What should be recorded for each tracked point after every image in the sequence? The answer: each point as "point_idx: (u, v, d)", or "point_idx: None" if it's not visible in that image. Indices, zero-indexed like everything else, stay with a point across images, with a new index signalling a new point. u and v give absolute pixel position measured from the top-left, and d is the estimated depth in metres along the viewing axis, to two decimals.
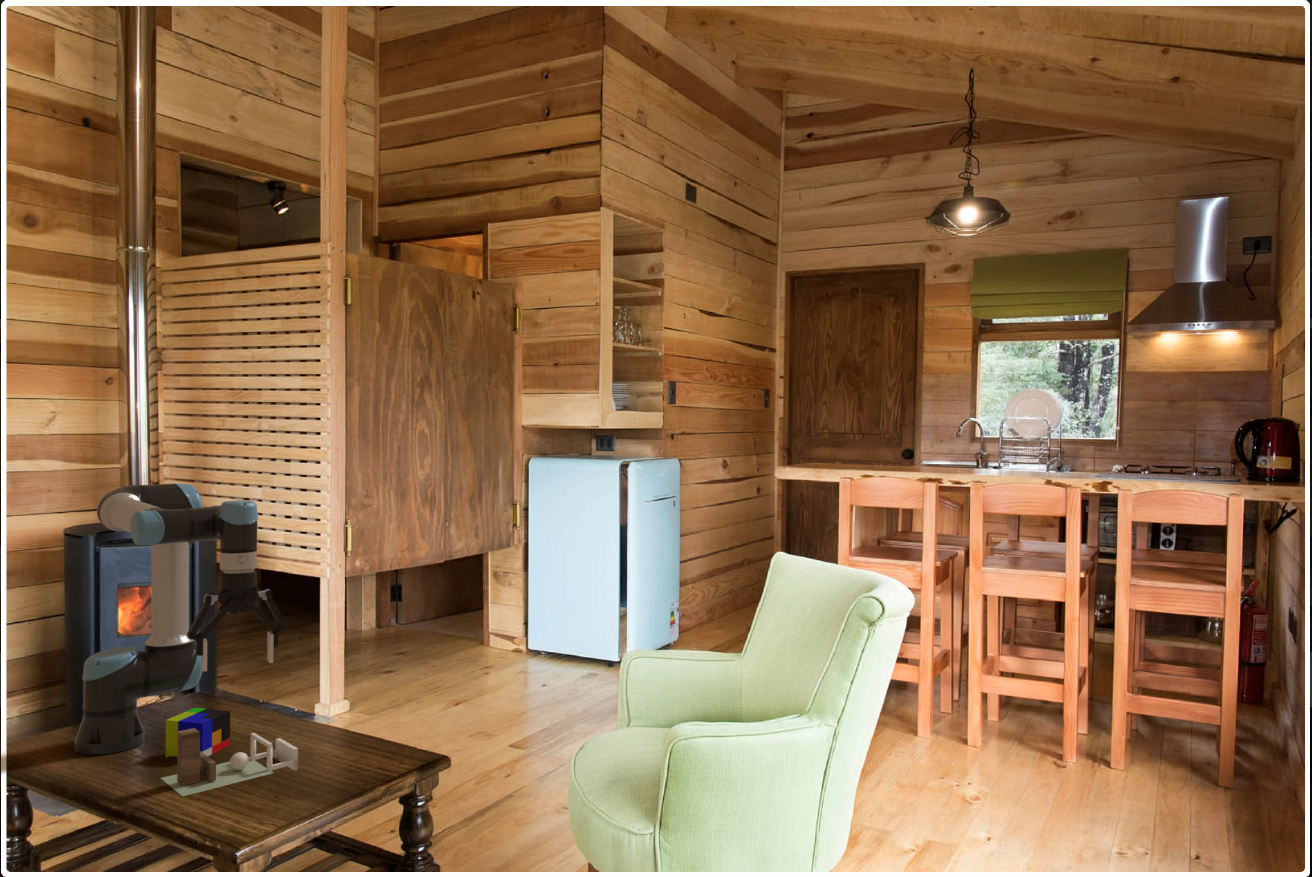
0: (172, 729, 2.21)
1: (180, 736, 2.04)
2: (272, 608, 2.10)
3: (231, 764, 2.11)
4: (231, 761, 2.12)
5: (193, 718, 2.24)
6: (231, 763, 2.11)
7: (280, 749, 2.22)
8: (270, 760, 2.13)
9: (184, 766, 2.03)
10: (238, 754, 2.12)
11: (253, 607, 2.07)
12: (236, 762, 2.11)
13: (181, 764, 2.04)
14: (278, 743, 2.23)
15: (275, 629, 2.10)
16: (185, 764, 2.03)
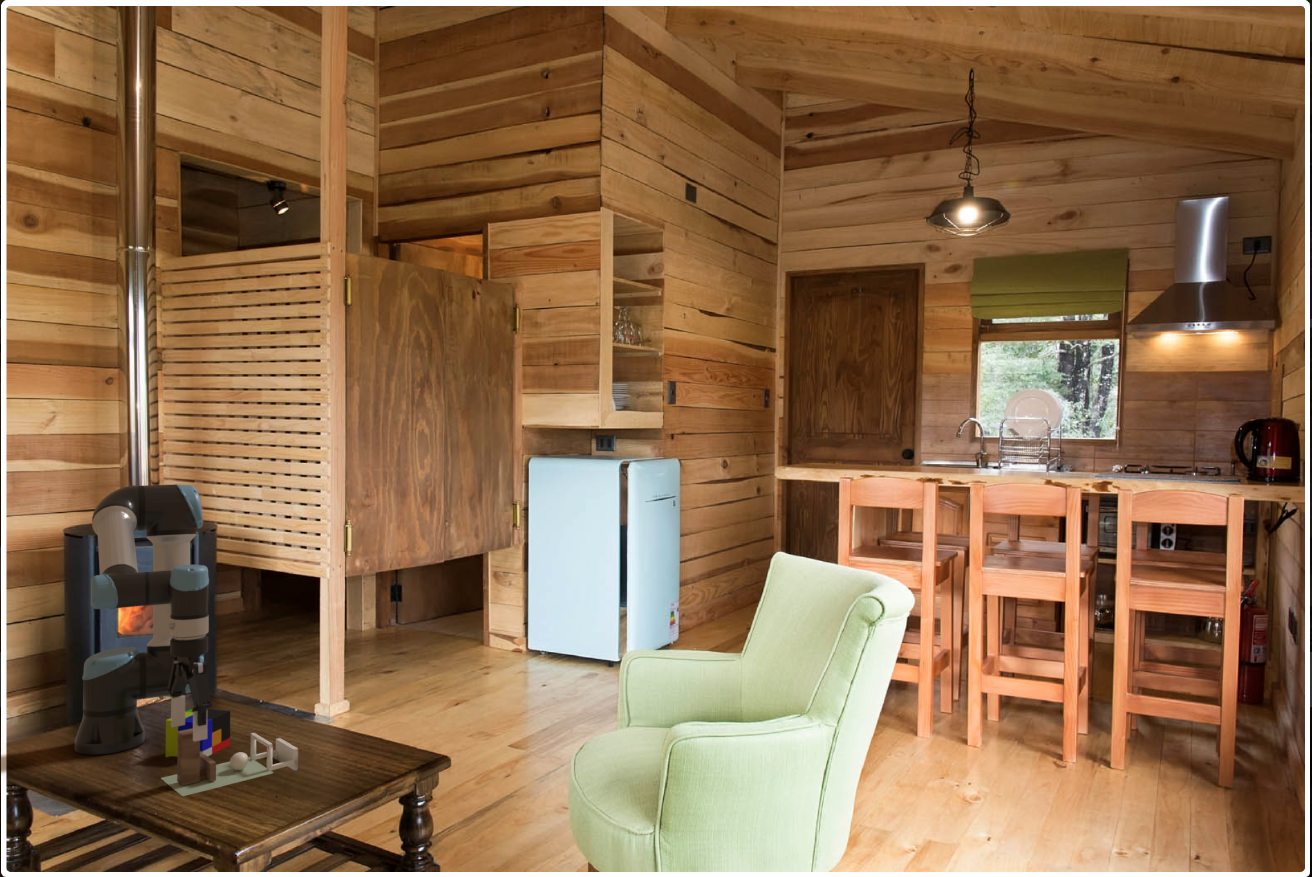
0: (172, 729, 2.21)
1: (180, 736, 2.04)
2: (194, 683, 1.99)
3: (231, 764, 2.11)
4: (231, 761, 2.12)
5: None
6: (231, 763, 2.11)
7: (280, 749, 2.22)
8: (270, 760, 2.13)
9: (184, 766, 2.03)
10: (238, 754, 2.12)
11: (185, 677, 2.02)
12: (236, 762, 2.11)
13: (181, 764, 2.04)
14: (278, 743, 2.23)
15: (195, 707, 1.99)
16: (185, 764, 2.03)
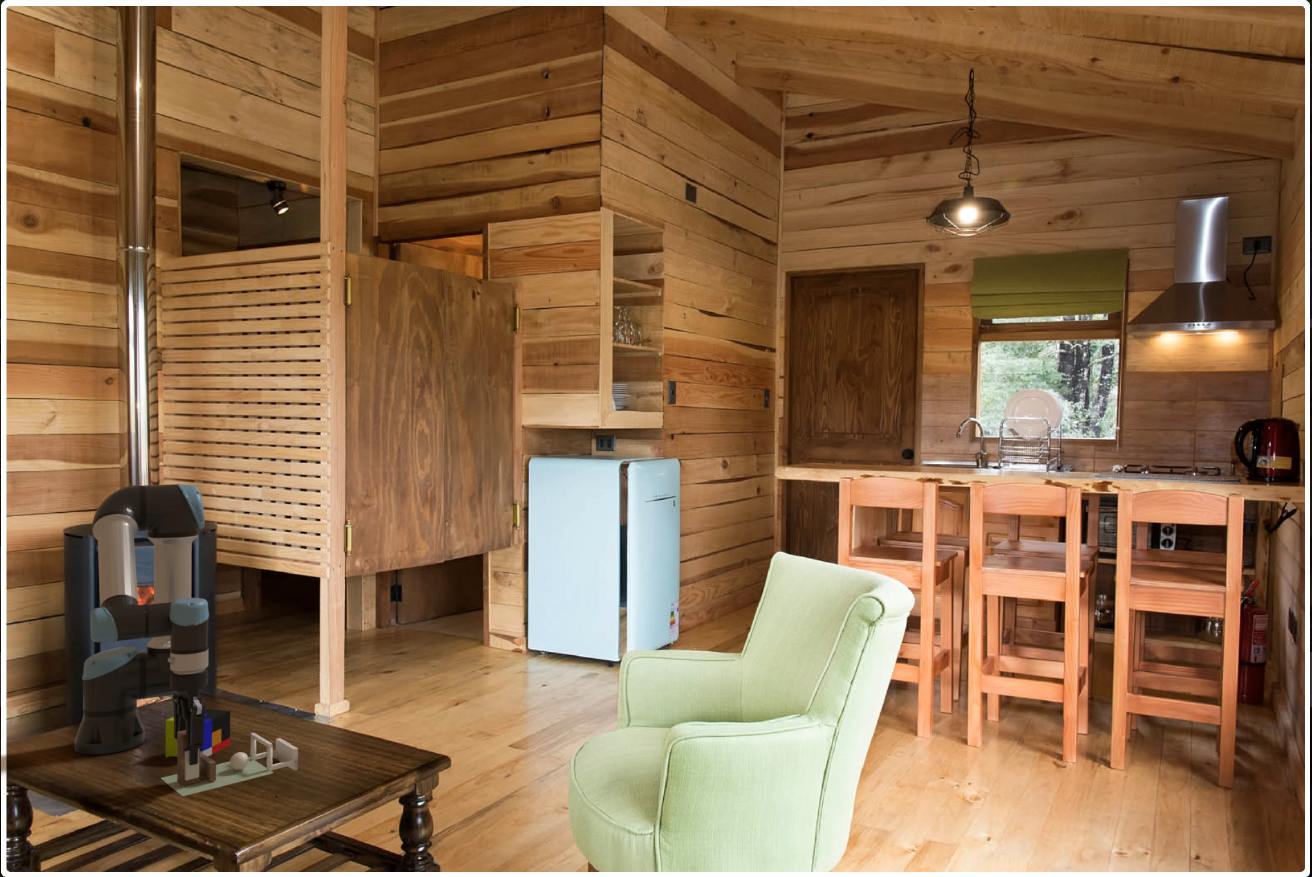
0: (172, 729, 2.21)
1: (180, 736, 2.04)
2: (191, 723, 2.01)
3: (231, 764, 2.11)
4: (231, 761, 2.12)
5: None
6: (231, 763, 2.11)
7: (280, 749, 2.22)
8: (270, 760, 2.13)
9: (184, 766, 2.03)
10: (238, 754, 2.12)
11: (183, 713, 2.03)
12: (236, 762, 2.11)
13: (181, 764, 2.04)
14: (278, 743, 2.23)
15: (187, 746, 2.02)
16: None
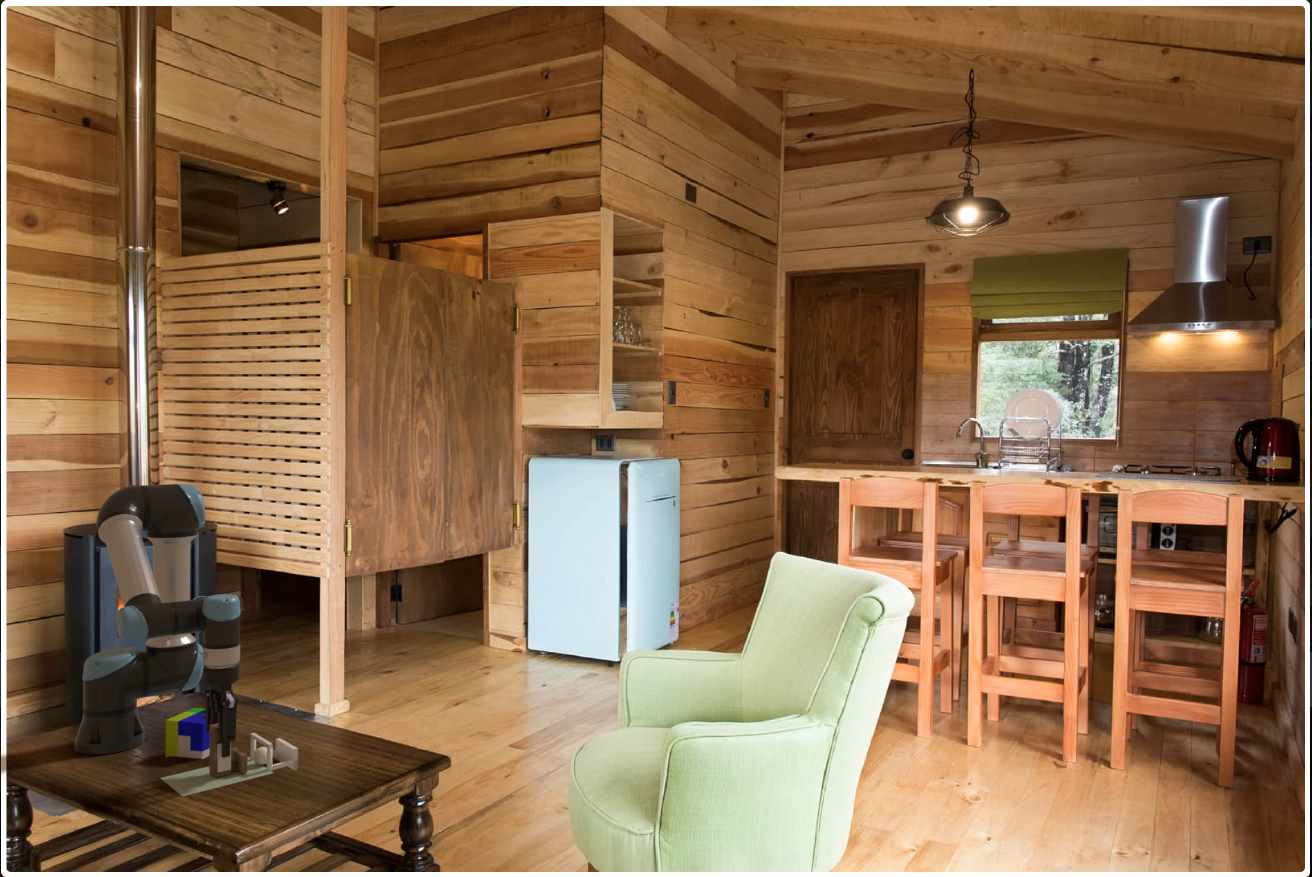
0: (172, 729, 2.21)
1: (212, 729, 2.09)
2: (223, 716, 2.06)
3: None
4: None
5: (193, 718, 2.24)
6: None
7: (280, 749, 2.22)
8: (270, 760, 2.13)
9: (216, 759, 2.08)
10: None
11: (216, 706, 2.08)
12: None
13: (213, 756, 2.08)
14: (278, 743, 2.23)
15: (220, 739, 2.07)
16: None
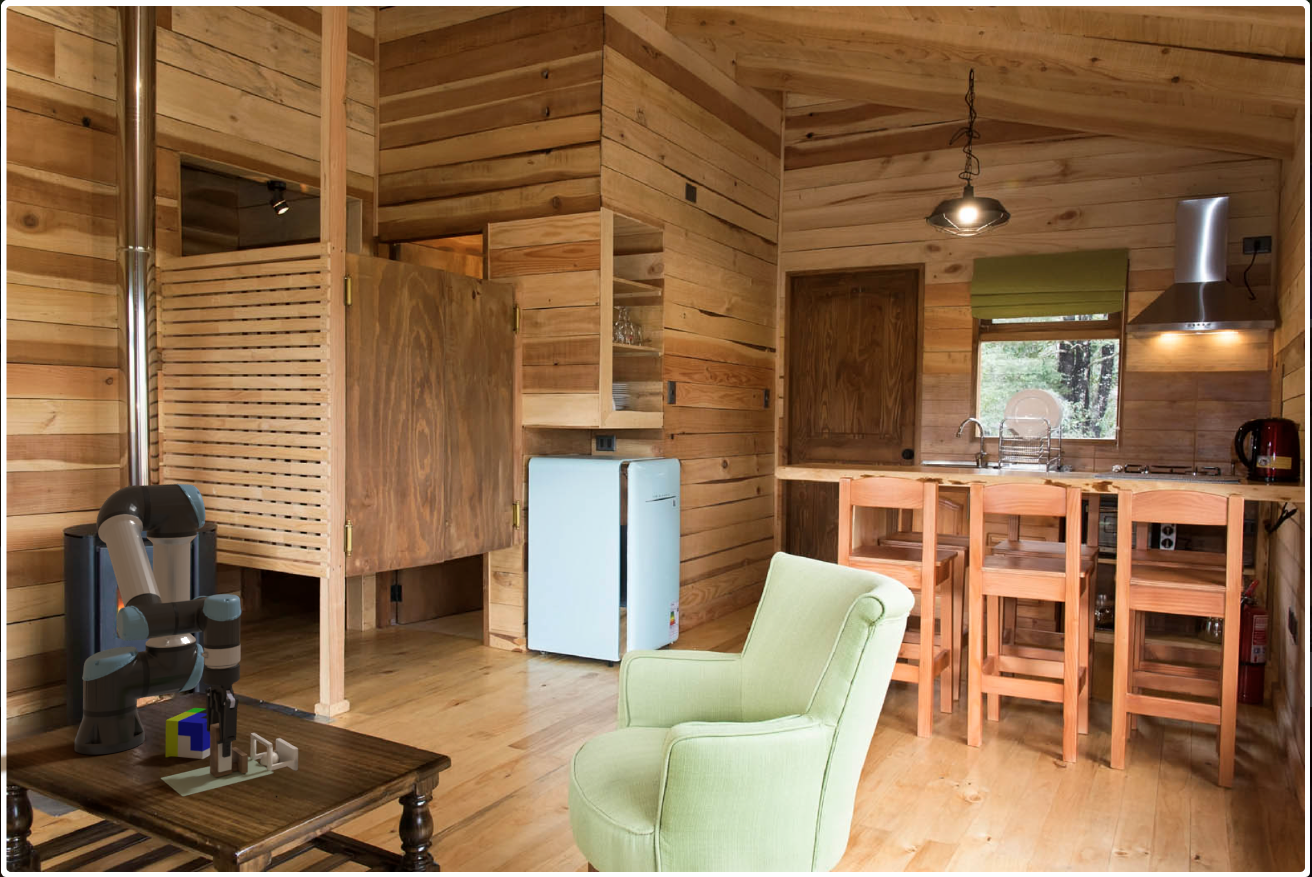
0: (172, 729, 2.21)
1: (213, 729, 2.09)
2: (224, 716, 2.06)
3: None
4: None
5: (193, 718, 2.24)
6: None
7: (280, 749, 2.22)
8: (270, 760, 2.13)
9: (217, 759, 2.08)
10: None
11: (216, 706, 2.08)
12: None
13: (214, 756, 2.08)
14: (278, 743, 2.23)
15: (220, 739, 2.07)
16: None
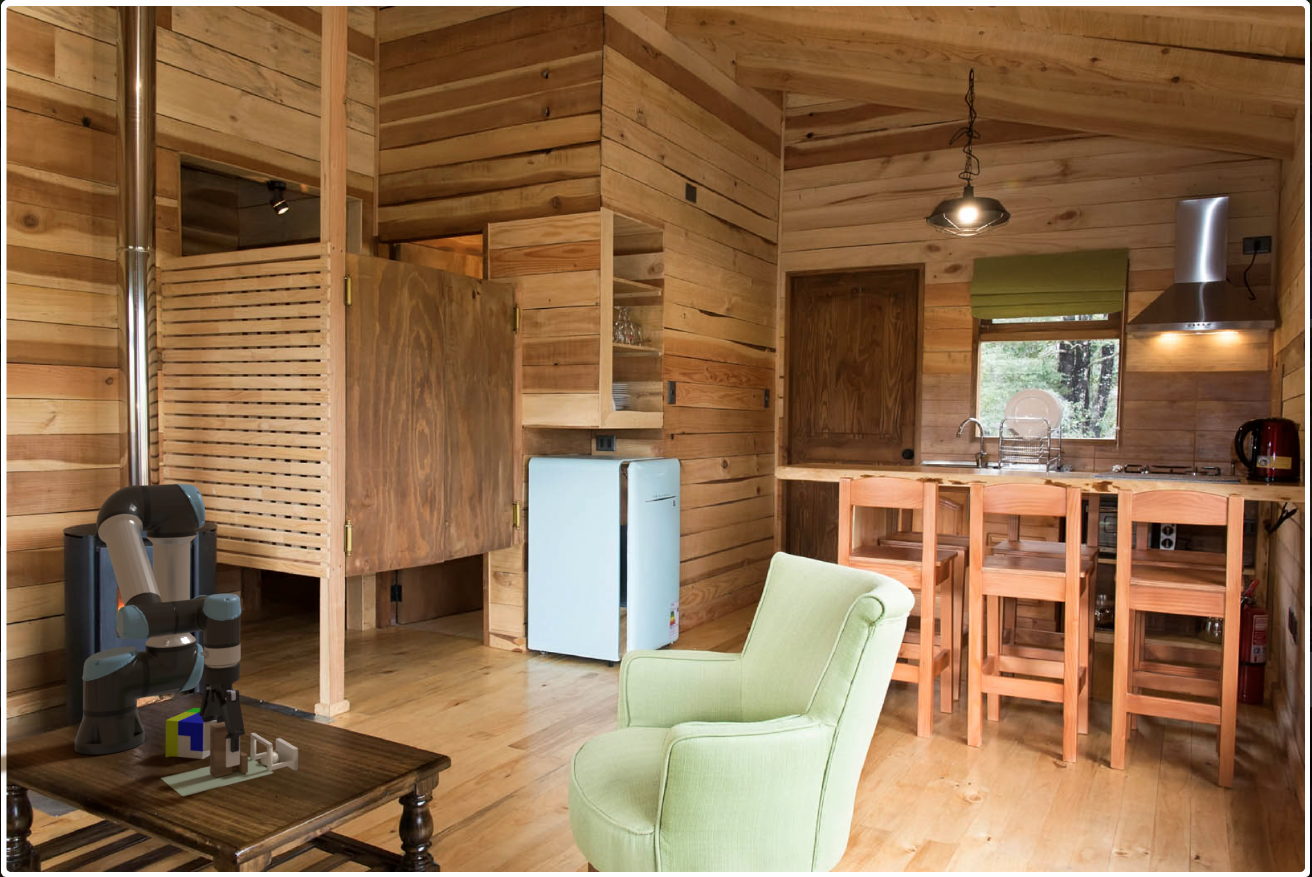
0: (172, 729, 2.21)
1: (213, 729, 2.09)
2: (228, 711, 2.04)
3: None
4: None
5: (193, 718, 2.24)
6: None
7: (280, 749, 2.22)
8: (270, 760, 2.13)
9: (217, 759, 2.08)
10: None
11: (218, 704, 2.07)
12: None
13: (214, 756, 2.08)
14: (278, 743, 2.23)
15: (228, 734, 2.04)
16: (218, 756, 2.08)
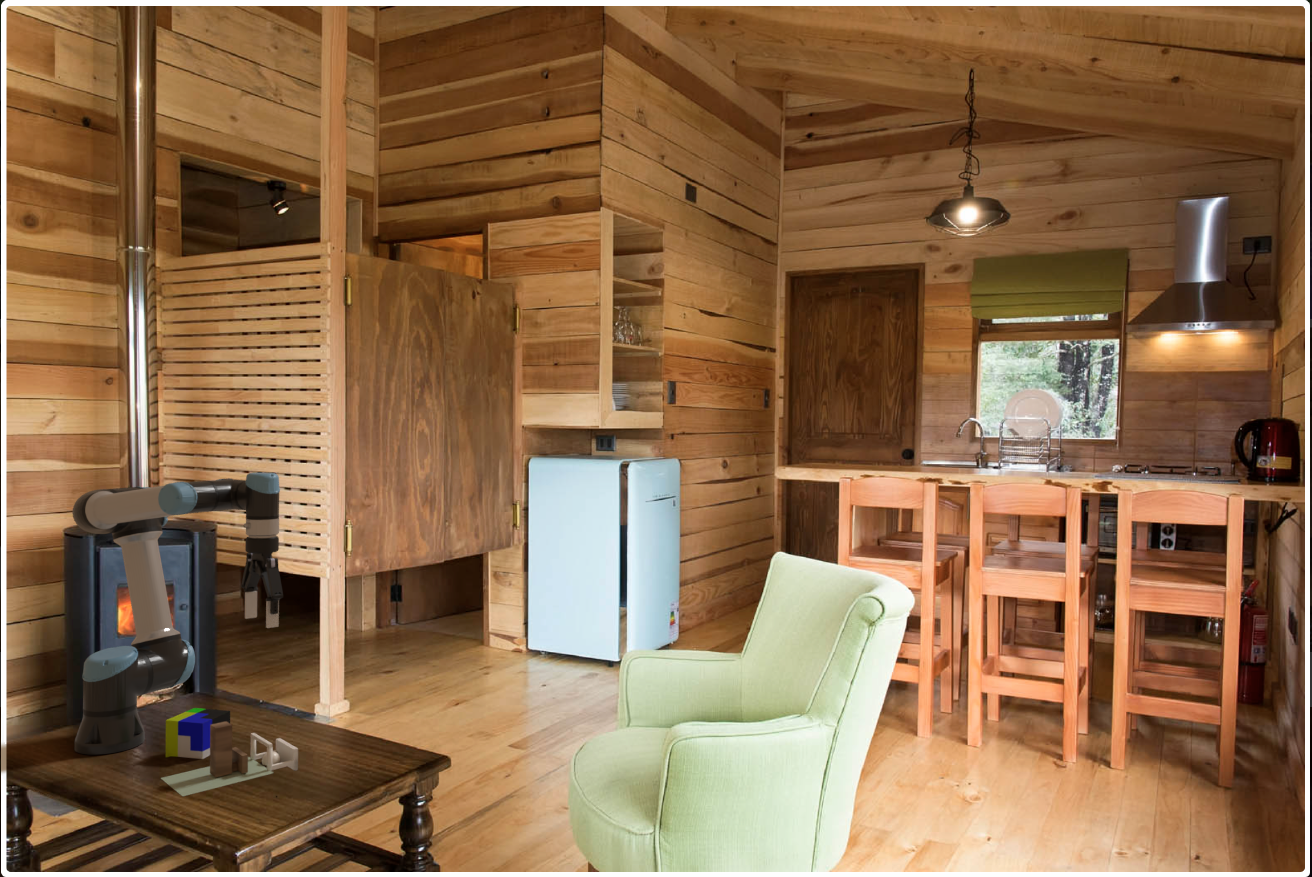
0: (172, 730, 2.21)
1: (213, 729, 2.09)
2: (268, 576, 2.22)
3: None
4: None
5: (193, 718, 2.24)
6: None
7: (280, 749, 2.22)
8: (270, 760, 2.13)
9: (217, 759, 2.08)
10: None
11: (259, 571, 2.25)
12: None
13: (214, 756, 2.08)
14: (278, 743, 2.23)
15: (268, 597, 2.22)
16: (218, 756, 2.08)
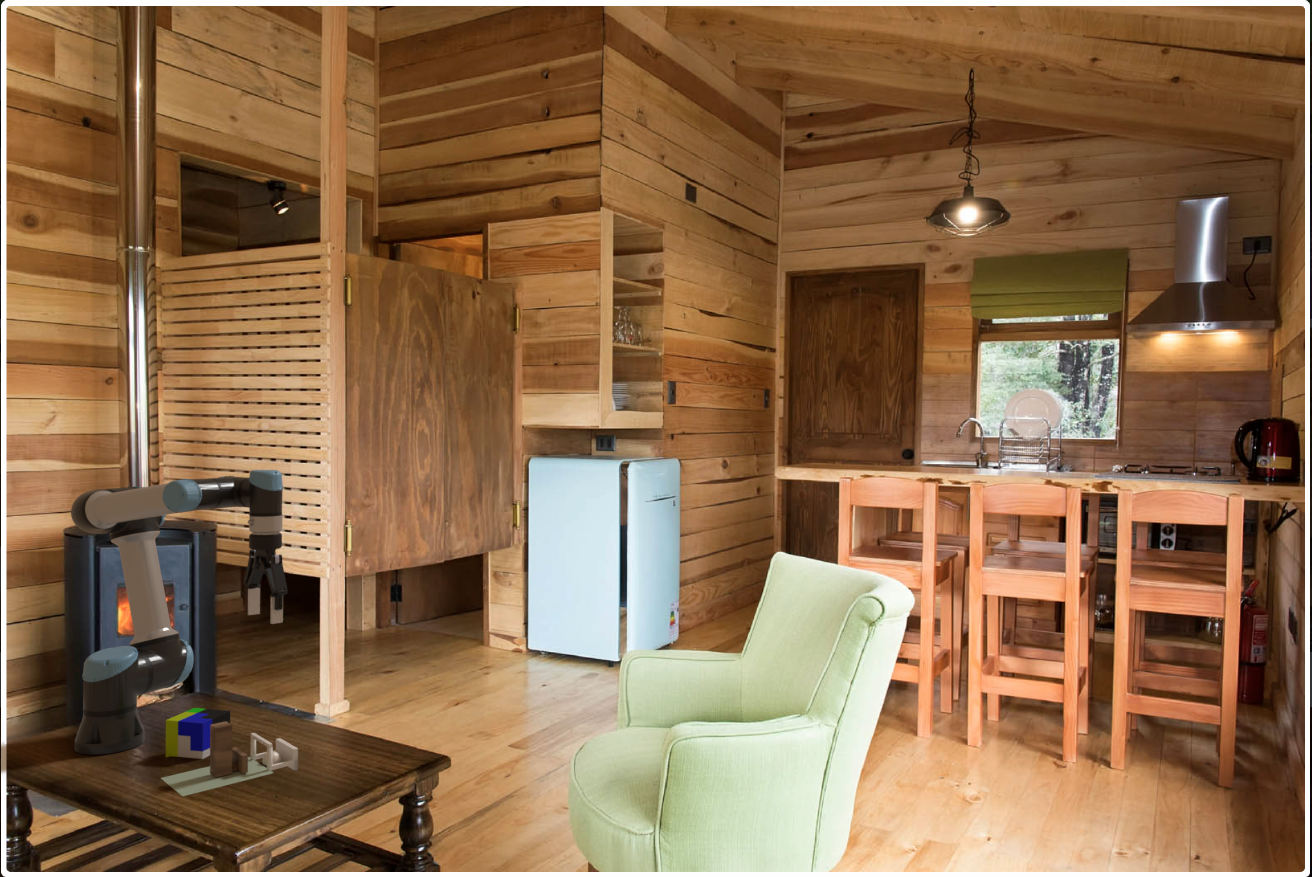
0: (172, 729, 2.21)
1: (213, 729, 2.09)
2: (272, 572, 2.24)
3: None
4: None
5: (193, 718, 2.24)
6: None
7: (280, 749, 2.22)
8: (270, 760, 2.13)
9: (217, 759, 2.08)
10: None
11: (263, 568, 2.26)
12: None
13: (214, 756, 2.08)
14: (278, 743, 2.23)
15: (273, 593, 2.23)
16: (218, 756, 2.08)
